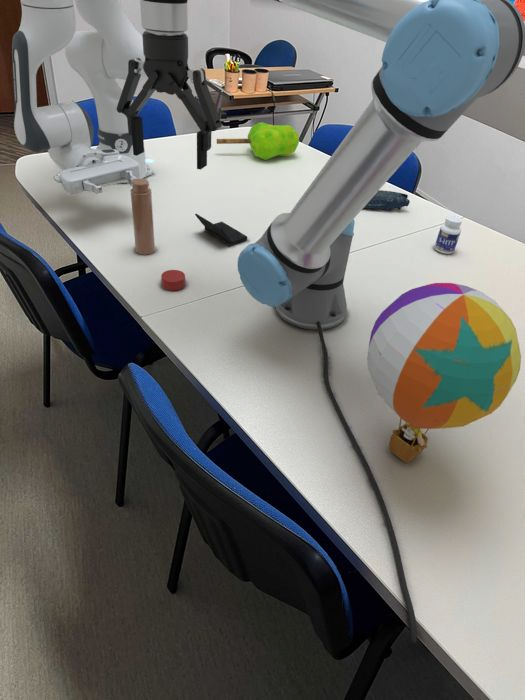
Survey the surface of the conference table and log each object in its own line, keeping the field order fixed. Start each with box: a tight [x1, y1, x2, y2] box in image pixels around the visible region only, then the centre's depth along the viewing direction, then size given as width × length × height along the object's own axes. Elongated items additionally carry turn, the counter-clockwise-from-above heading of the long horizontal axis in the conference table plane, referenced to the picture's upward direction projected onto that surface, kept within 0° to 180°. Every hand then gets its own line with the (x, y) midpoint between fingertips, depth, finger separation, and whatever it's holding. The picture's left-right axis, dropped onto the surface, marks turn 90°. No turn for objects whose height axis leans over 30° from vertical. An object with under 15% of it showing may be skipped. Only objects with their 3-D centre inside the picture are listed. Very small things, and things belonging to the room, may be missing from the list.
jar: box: [129, 178, 156, 256], centre depth 123 cm, size 5×5×17 cm
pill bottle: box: [434, 215, 463, 255], centre depth 137 cm, size 5×5×9 cm
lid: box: [160, 269, 186, 292], centre depth 116 cm, size 5×5×2 cm
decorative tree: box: [216, 121, 300, 161], centre depth 186 cm, size 18×10×30 cm
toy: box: [366, 282, 522, 464], centre depth 73 cm, size 20×20×30 cm
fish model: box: [363, 189, 411, 211], centre depth 158 cm, size 7×21×5 cm, turn 84°
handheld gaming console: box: [194, 213, 248, 246], centre depth 135 cm, size 12×7×10 cm
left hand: (117, 185), depth 127 cm, fingers open, 8 cm apart
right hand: (169, 160), depth 99 cm, fingers open, 13 cm apart
